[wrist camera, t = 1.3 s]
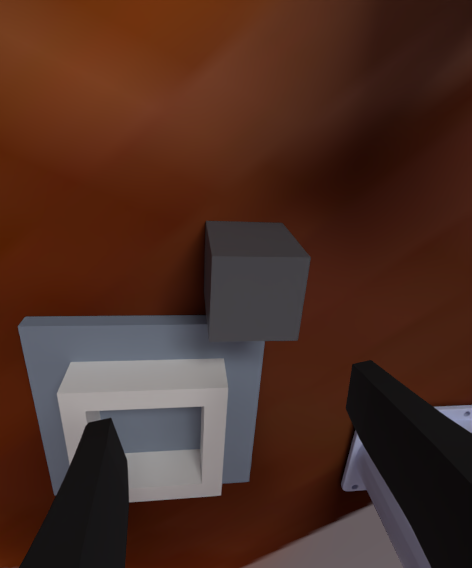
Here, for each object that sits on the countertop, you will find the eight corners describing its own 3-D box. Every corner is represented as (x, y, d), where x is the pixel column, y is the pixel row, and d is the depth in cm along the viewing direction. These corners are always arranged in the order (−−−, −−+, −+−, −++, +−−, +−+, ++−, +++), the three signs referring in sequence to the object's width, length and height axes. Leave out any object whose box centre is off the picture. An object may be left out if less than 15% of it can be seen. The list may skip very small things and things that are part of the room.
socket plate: (263, 314, 22) (276, 349, 19) (246, 469, 27) (254, 516, 24) (25, 316, 20) (-5, 355, 17) (58, 481, 26) (41, 534, 22)
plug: (282, 222, 20) (310, 257, 15) (274, 291, 21) (297, 340, 17) (205, 220, 19) (211, 256, 15) (203, 290, 21) (208, 342, 16)
